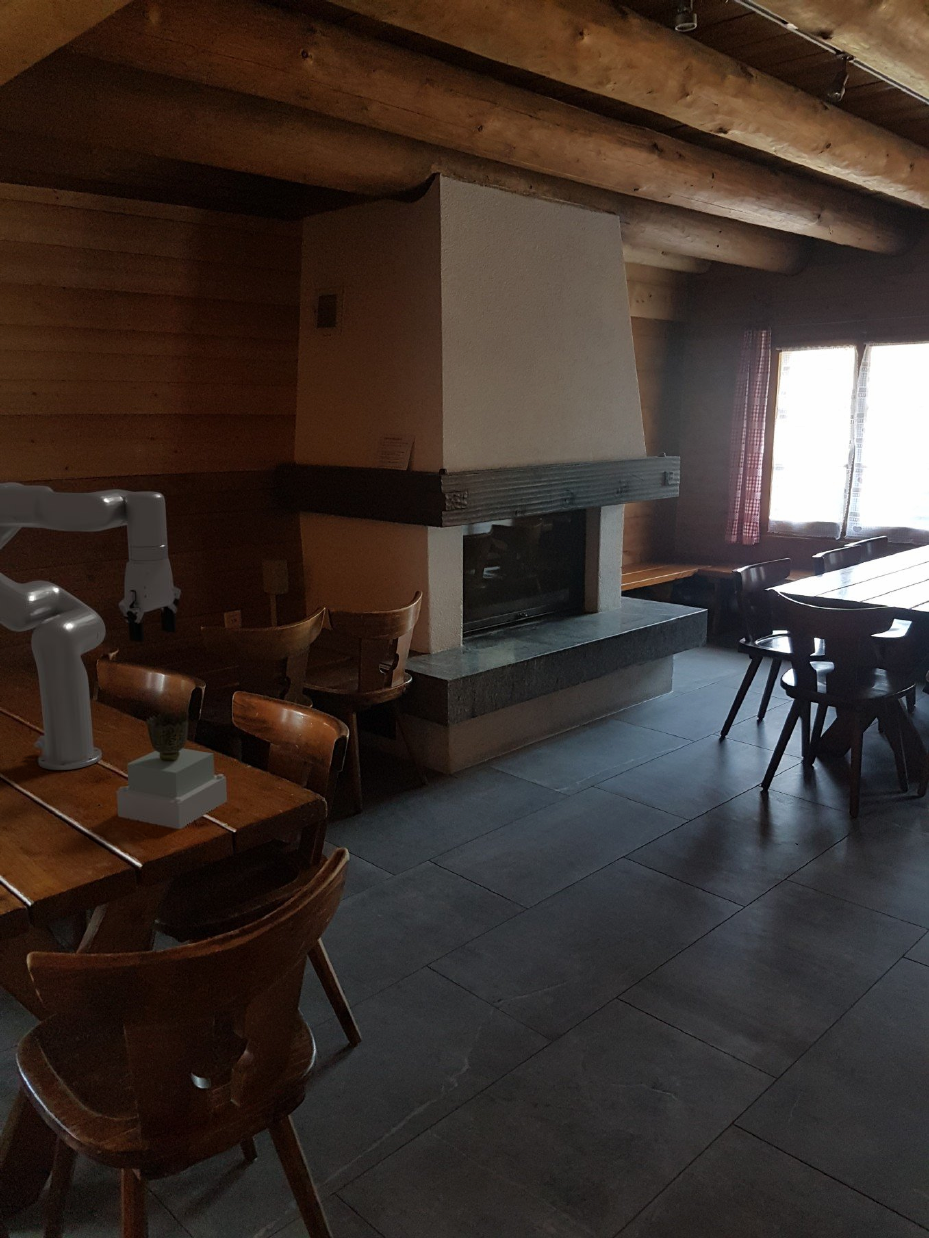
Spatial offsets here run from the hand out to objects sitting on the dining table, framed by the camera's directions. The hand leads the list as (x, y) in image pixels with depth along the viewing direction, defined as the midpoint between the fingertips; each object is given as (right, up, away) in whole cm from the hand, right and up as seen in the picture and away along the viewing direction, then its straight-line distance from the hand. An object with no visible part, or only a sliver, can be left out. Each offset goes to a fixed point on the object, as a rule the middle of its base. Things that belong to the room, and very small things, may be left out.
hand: (153, 636), depth 201 cm
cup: (+9, -23, -18) cm, 30 cm away
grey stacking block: (+9, -32, -16) cm, 37 cm away
